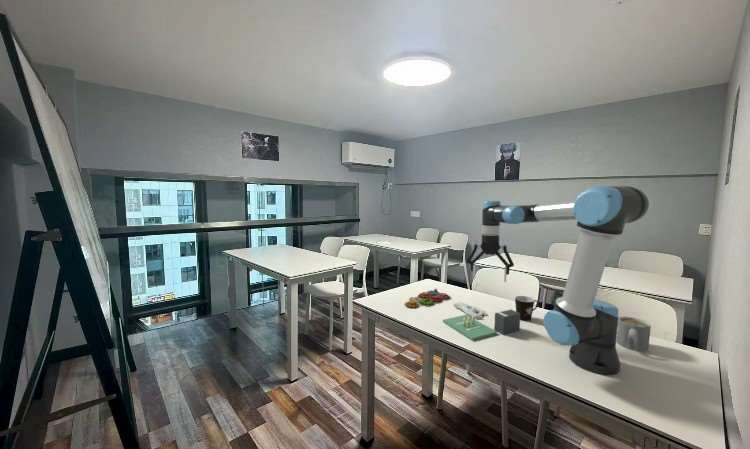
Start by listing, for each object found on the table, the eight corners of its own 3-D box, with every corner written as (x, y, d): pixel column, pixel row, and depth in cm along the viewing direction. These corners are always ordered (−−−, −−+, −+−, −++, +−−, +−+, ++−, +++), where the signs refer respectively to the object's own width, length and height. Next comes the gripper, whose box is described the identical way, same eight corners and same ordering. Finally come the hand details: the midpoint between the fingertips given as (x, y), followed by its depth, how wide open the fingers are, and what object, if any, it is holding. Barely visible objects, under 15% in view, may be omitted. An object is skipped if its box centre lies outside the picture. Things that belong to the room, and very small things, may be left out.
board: (497, 334, 132) (497, 322, 132) (472, 340, 126) (472, 329, 126) (465, 317, 150) (466, 307, 150) (442, 322, 145) (443, 311, 144)
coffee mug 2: (621, 336, 129) (623, 314, 128) (651, 346, 121) (654, 322, 120) (609, 345, 122) (611, 322, 121) (640, 357, 114) (643, 331, 113)
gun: (449, 303, 160) (460, 299, 166) (448, 309, 160) (460, 305, 167) (479, 315, 146) (490, 310, 152) (479, 322, 146) (490, 317, 153)
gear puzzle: (416, 312, 158) (416, 305, 157) (395, 303, 170) (395, 296, 169) (452, 299, 177) (452, 292, 177) (431, 292, 189) (431, 285, 189)
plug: (519, 330, 136) (520, 313, 135) (503, 334, 132) (503, 317, 131) (510, 326, 140) (511, 309, 139) (494, 330, 136) (495, 312, 135)
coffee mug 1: (516, 321, 145) (517, 301, 144) (512, 314, 154) (513, 295, 153) (542, 323, 143) (543, 303, 142) (537, 316, 151) (538, 297, 150)
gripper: (520, 234, 136) (518, 280, 138) (463, 232, 147) (463, 274, 149) (520, 236, 130) (519, 284, 132) (461, 234, 140) (460, 278, 142)
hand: (489, 279), depth 140 cm, fingers open, 13 cm apart
